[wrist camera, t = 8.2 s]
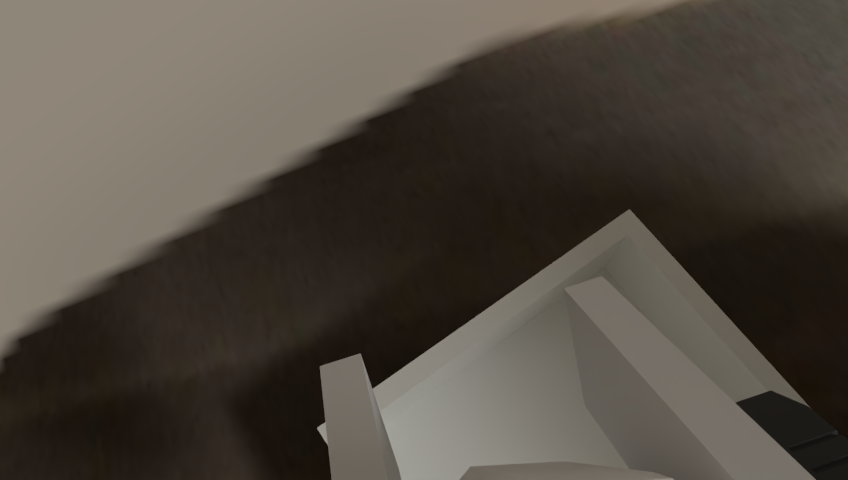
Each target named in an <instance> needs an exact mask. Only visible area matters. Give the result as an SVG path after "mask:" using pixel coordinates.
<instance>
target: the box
mask: <svg viewBox="0 0 848 480" xmlns="http://www.w3.org/2000/svg"><path fill="white" fill-rule="evenodd" d="M600 276H602V277H603V278H604V279H606V280H607V281H608V282H609V283H610V284H611V285H612V286H613V287H614V288H615V289H616V290H617V291H618V292H619V293H620V294H621V295H622V296H623V297H624V298H625V299H627V300H628V301H629V302H630V303H631V304H632V305H633V306H634V307H635V308H636V309H637V310H638V311H639V312H640V313H641V314H642V315H643V316H644V317H645V318H647V319H648V320H649V321H650V322H651V323H652V324H653V325H654V326H655V327H656V328H657V329H658V330H659V331H660V332H661V333H662V334H663V335H664V336H665V337H666V338H668V339H669V340H670V341H671V342H672V343H673V344H674V345H675V346H676V347H677V348H678V349H679V350H680V351H681V352H682V353H683V354H684V355H685V356H686V357H688V358H689V359H690V360H691V361H692V362H693V363H694V364H695V365H696V366H697V367H698V368H699V369H700V370H701V371H702V372H703V373H704V374H705V375H706V376H707V377H709V378H710V379H711V380H712V381H713V382H714V383H715V384H716V385H717V386H718V387H719V388H720V389H721V390H722V391H723V392H724V393H725V394H726V395H727V396H729V397H730V398H731V399H732V400H733V401H734V402H738V401H741V400H744V399H747V398H750V397H753V396H756V395H759V394H762V393H765V392H768V391H770V390H771V391H774V392H776V393H778V394H781V395H783V396H785V397H788V398H790V399H792V400H795V401H797V402H799V403H802V404H804V405H806V406H808V405H807V403H806V402H805V401H804V400H803V399H802V398H801V397H800V396H799V395H798V394H797V392H796V391H795V390H794V389H793V388H792V387H791V386H790V385H789V384H788V383H787V381H786V380H785V379H784V378H783V377H782V376H781V375H780V374H779V373H778V372H777V371H776V369H775V368H774V367H773V366H772V365H771V364H770V363H769V362H768V361H767V360H766V358H765V357H764V356H763V355H762V354H761V353H760V352H759V351H758V350H757V349H756V347H755V346H754V345H753V344H752V343H751V342H750V341H749V340H748V339H747V338H746V336H745V335H744V334H743V333H742V332H741V331H740V330H739V329H738V328H737V327H736V325H735V324H734V323H733V322H732V321H731V320H730V319H729V318H728V317H727V316H726V315H725V313H724V312H723V311H722V310H721V309H720V308H719V307H718V306H717V305H716V304H715V302H714V301H713V300H712V299H711V298H710V297H709V296H708V295H707V294H706V293H705V291H704V290H703V289H702V288H701V287H700V286H699V285H698V284H697V283H696V282H695V280H694V279H693V278H692V277H691V276H690V275H689V274H688V273H687V272H686V271H685V269H684V268H683V267H682V266H681V265H680V264H679V263H678V262H677V261H676V260H675V258H674V257H673V256H672V255H671V254H670V253H669V252H668V251H667V250H666V249H665V248H664V246H663V245H662V244H661V243H660V242H659V241H658V240H657V239H656V238H655V237H654V235H653V234H652V233H651V232H650V231H649V230H648V229H647V228H646V227H645V226H644V224H643V223H642V222H641V221H640V220H639V219H638V218H637V217H636V216H635V215H634V213H633V212H632V211H631V210H630V209H629V210H627V211H626V212H624V213H623V214H621V215H620V216H619V217H617V218H616V219H614V220H613V221H612V222H610V223H609V224H607V225H606V226H604V227H603V228H602V229H600V230H599V231H597V232H596V233H594V234H593V235H592V236H590V237H589V238H587V239H586V240H584V241H583V242H582V243H580V244H579V245H577V246H576V247H574V248H573V249H572V250H570V251H569V252H567V253H566V254H564V255H563V256H562V257H560V258H559V259H557V260H556V261H554V262H553V263H552V264H550V265H549V266H547V267H546V268H544V269H543V270H542V271H540V272H539V273H537V274H536V275H534V276H533V277H532V278H530V279H529V280H527V281H526V282H524V283H523V284H522V285H520V286H519V287H517V288H516V289H514V290H513V291H512V292H510V293H509V294H507V295H506V296H504V297H503V298H502V299H500V300H499V301H497V302H496V303H495V304H493V305H492V306H490V307H489V308H487V309H486V310H485V311H483V312H482V313H480V314H479V315H477V316H476V317H475V318H473V319H472V320H470V321H469V322H467V323H466V324H465V325H463V326H462V327H460V328H459V329H457V330H456V331H455V332H453V333H452V334H450V335H449V336H447V337H446V338H445V339H443V340H442V341H440V342H439V343H437V344H436V345H435V346H433V347H432V348H430V349H429V350H427V351H426V352H425V353H423V354H422V355H420V356H419V357H417V358H416V359H415V360H413V361H412V362H410V363H409V364H407V365H406V366H405V367H403V368H402V369H400V370H399V371H397V372H396V373H395V374H393V375H392V376H390V377H389V378H388V379H386V380H385V381H383V382H382V383H380V384H379V385H378V386H376V387H375V388H373V392H374V395H375V398H376V401H377V404H378V407H379V410H380V413H381V416H382V419H383V422H384V425H385V429H386V432H387V435H388V438H389V441H390V444H391V447H392V450H393V453H394V456H395V459H396V462H397V465H398V468H399V471H400V476H401V480H459V479H460V478H461V477H462V476H463V475H464V473H465V472H466V471H467V470H468V469H469V467H470V466H488V465H506V464H523V463H541V462H558V461H567V462H575V463H583V464H591V465H599V466H607V467H615V468H623V469H629V468H628V466H627V465H626V464H625V462H624V461H623V459H622V458H621V457H620V455H619V454H618V452H617V451H616V449H615V448H614V447H613V445H612V444H611V442H610V441H609V439H608V438H607V437H606V435H605V434H604V432H603V431H602V429H601V428H600V427H599V425H598V424H597V422H596V421H595V419H594V418H593V417H592V415H591V414H590V412H589V411H588V409H587V408H586V407H585V404H584V399H583V393H582V387H581V382H580V376H579V371H578V365H577V360H576V354H575V349H574V343H573V338H572V332H571V327H570V321H569V316H568V310H567V305H566V299H565V294H564V288H566V287H569V286H572V285H575V284H579V283H582V282H585V281H588V280H591V279H594V278H597V277H600ZM808 407H809V406H808ZM317 429H318V431H319V432H320V434H321V436H322V437H323V439H324V440H325V442H326V443H327V445H328V441H327V432H326V422H325V423H323V424H322V425H320V426H319V427H318V428H317Z"/></svg>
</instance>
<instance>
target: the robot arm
mask: <svg viewBox="0 0 848 480" xmlns="http://www.w3.org/2000/svg"><path fill="white" fill-rule="evenodd" d="M564 294H565V299H566V305H567V310H568V316H569V321H570V327H571V332H572V338H573V343H574V349H575V354H576V360H577V365H578V371H579V376H580V382H581V387H582V393H583V399H584V404H585V407H586V408H587V409H588V411H589V412H590V414H591V415H592V417H593V418H594V419H595V421H596V422H597V424H598V425H599V427H600V428H601V429H602V431H603V432H604V434H605V435H606V437H607V438H608V439H609V441H610V442H611V444H612V445H613V447H614V448H615V449H616V451H617V452H618V454H619V455H620V457H621V458H622V459H623V461H624V462H625V464H626V465H627V466H628V468H629V469H631V470H640V471H648V472H655V473H658V474H661V475H664V476H667V477H670V478H673V479H674V480H848V439H847V438H846V437H845V436H844V435H839V434H838V432H837V430H836V429H835V428H834V427H833V426H831V425H830V424H829V423H828V422H827V421H825V420H824V419H823V418H822V417H821V416H819V415H818V414H817V413H816V412H815V411H813V410H812V409H811V408H810V407H808V406H806V405H804V404H802V403H799V402H797V401H795V400H792V399H790V398H788V397H785V396H783V395H781V394H778V393H776V392H774V391H771V390H770V391H768V392H765V393H762V394H759V395H756V396H753V397H750V398H747V399H744V400H741V401H738V402H734V401H733V400H732V399H731V398H730V397H729V396H727V395H726V394H725V393H724V392H723V391H722V390H721V389H720V388H719V387H718V386H717V385H716V384H715V383H714V382H713V381H712V380H711V379H710V378H709V377H707V376H706V375H705V374H704V373H703V372H702V371H701V370H700V369H699V368H698V367H697V366H696V365H695V364H694V363H693V362H692V361H691V360H690V359H689V358H688V357H686V356H685V355H684V354H683V353H682V352H681V351H680V350H679V349H678V348H677V347H676V346H675V345H674V344H673V343H672V342H671V341H670V340H669V339H668V338H666V337H665V336H664V335H663V334H662V333H661V332H660V331H659V330H658V329H657V328H656V327H655V326H654V325H653V324H652V323H651V322H650V321H649V320H648V319H647V318H645V317H644V316H643V315H642V314H641V313H640V312H639V311H638V310H637V309H636V308H635V307H634V306H633V305H632V304H631V303H630V302H629V301H628V300H627V299H625V298H624V297H623V296H622V295H621V294H620V293H619V292H618V291H617V290H616V289H615V288H614V287H613V286H612V285H611V284H610V283H609V282H608V281H607V280H606V279H604V278H603V277H602V276H600V277H597V278H594V279H591V280H588V281H585V282H582V283H579V284H575V285H572V286H569V287H566V288H564ZM320 375H321V384H322V394H323V403H324V413H325V422H326V432H327V441H328V450H329V460H330V469H331V479H332V480H401V476H400V471H399V468H398V465H397V462H396V459H395V456H394V453H393V450H392V447H391V444H390V441H389V438H388V435H387V432H386V429H385V425H384V422H383V419H382V416H381V413H380V410H379V407H378V404H377V401H376V398H375V395H374V392H373V389H372V386H371V383H370V380H369V377H368V374H367V371H366V368H365V365H364V362H363V359H362V356H361V353H360V354H357V355H353V356H350V357H347V358H344V359H341V360H338V361H335V362H332V363H328V364H325V365H322V366H320Z"/></svg>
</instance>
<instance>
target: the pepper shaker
mask: <svg viewBox="0 0 848 480" xmlns="http://www.w3.org/2000/svg"><path fill="white" fill-rule="evenodd" d="M459 480H674V479H673V478H670V477H667V476H664V475H661V474H658V473H655V472H648V471H640V470H631V469H623V468H615V467H607V466H599V465H591V464H583V463H575V462H567V461H558V462H541V463H523V464H506V465H488V466H470V467H469V469H468V470H467V471H466V472H465V473H464V475H463V476H462V477H461V478H460V479H459Z"/></svg>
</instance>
